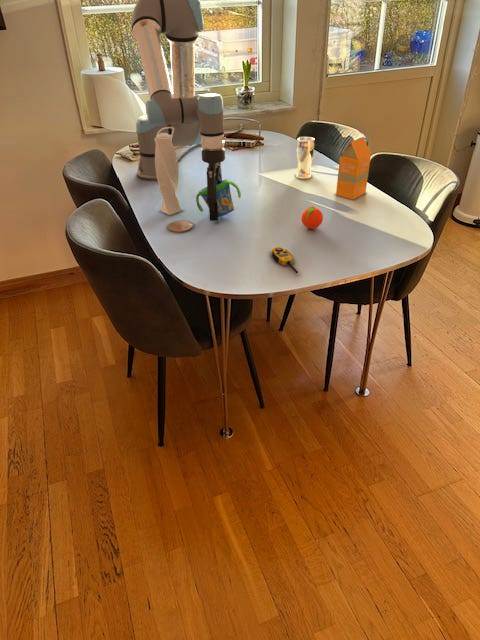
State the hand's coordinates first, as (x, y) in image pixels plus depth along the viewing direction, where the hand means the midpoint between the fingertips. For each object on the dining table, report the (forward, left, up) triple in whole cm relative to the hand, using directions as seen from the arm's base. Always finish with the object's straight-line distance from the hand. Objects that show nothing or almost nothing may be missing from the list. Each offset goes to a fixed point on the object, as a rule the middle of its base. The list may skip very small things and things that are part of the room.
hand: (216, 214), depth 163 cm
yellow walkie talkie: (+31, +25, -1) cm, 40 cm away
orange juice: (-25, +47, -1) cm, 54 cm away
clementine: (+7, +32, -1) cm, 33 cm away
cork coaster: (+10, -11, -1) cm, 14 cm away
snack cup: (+1, +3, +1) cm, 3 cm away
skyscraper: (-3, -17, -1) cm, 17 cm away
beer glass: (-43, +29, -1) cm, 52 cm away
